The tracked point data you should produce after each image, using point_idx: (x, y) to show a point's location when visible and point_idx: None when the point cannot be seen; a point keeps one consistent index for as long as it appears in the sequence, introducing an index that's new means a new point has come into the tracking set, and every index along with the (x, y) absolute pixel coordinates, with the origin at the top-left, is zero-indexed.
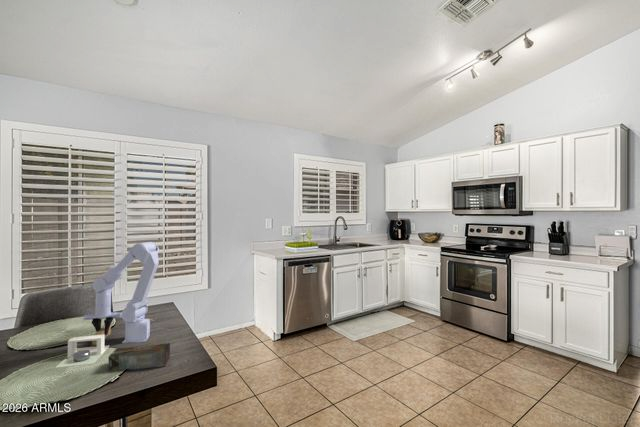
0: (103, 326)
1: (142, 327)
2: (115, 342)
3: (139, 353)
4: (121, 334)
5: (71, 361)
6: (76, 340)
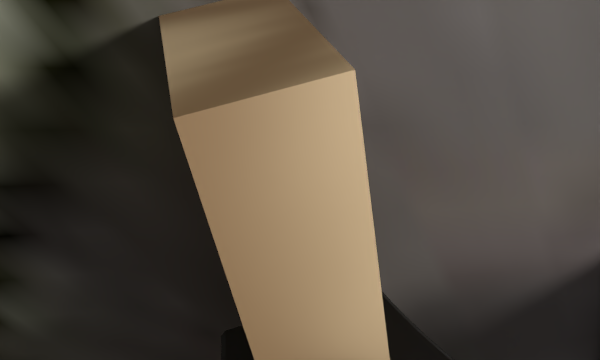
0: (251, 314)
1: None
2: (518, 353)
3: None
4: (528, 88)
5: None
6: None
